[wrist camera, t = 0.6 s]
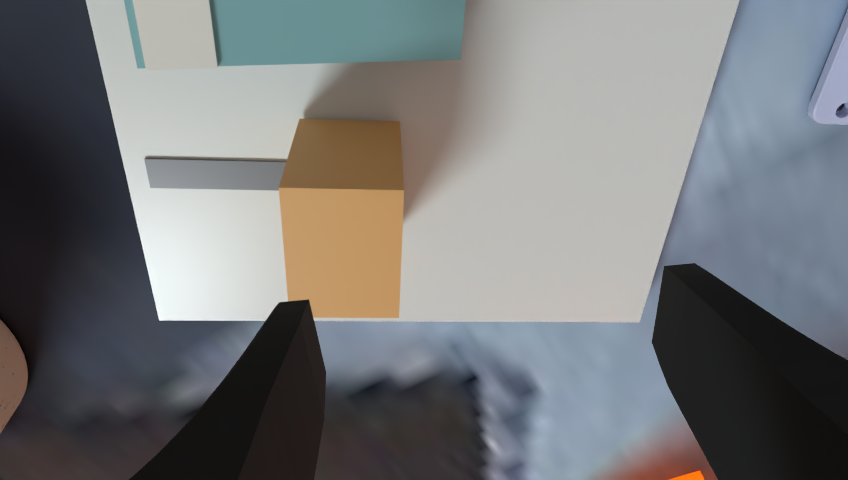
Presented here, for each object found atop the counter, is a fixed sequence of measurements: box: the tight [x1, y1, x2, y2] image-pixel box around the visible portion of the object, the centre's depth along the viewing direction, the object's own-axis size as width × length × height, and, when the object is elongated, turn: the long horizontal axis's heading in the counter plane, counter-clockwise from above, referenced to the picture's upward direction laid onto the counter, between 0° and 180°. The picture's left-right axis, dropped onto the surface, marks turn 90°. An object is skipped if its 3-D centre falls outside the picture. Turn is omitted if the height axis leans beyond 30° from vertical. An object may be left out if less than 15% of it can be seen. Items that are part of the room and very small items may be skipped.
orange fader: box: [279, 119, 404, 318], centre depth 18 cm, size 3×4×4 cm
